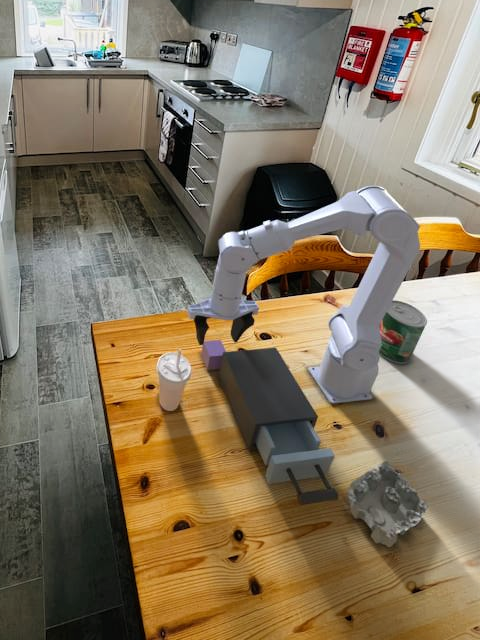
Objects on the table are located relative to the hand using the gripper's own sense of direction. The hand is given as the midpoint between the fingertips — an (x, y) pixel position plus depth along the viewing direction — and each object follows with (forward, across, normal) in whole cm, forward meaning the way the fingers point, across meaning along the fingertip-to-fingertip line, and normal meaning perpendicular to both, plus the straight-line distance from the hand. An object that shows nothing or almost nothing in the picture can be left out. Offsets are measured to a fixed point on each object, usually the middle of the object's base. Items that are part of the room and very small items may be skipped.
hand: (216, 339), depth 83 cm
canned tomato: (+6, -43, +1) cm, 43 cm away
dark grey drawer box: (+6, -6, +11) cm, 14 cm away
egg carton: (+6, -17, +29) cm, 34 cm away
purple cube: (+6, 0, 0) cm, 6 cm away
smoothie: (+6, +12, +8) cm, 16 cm away
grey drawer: (+5, -6, +20) cm, 21 cm away
